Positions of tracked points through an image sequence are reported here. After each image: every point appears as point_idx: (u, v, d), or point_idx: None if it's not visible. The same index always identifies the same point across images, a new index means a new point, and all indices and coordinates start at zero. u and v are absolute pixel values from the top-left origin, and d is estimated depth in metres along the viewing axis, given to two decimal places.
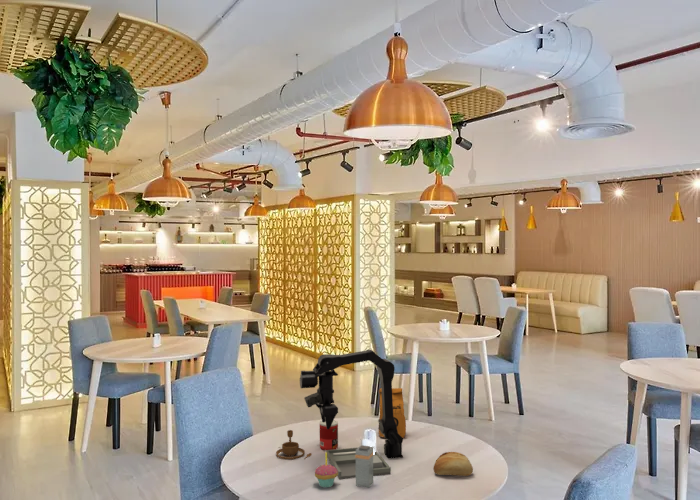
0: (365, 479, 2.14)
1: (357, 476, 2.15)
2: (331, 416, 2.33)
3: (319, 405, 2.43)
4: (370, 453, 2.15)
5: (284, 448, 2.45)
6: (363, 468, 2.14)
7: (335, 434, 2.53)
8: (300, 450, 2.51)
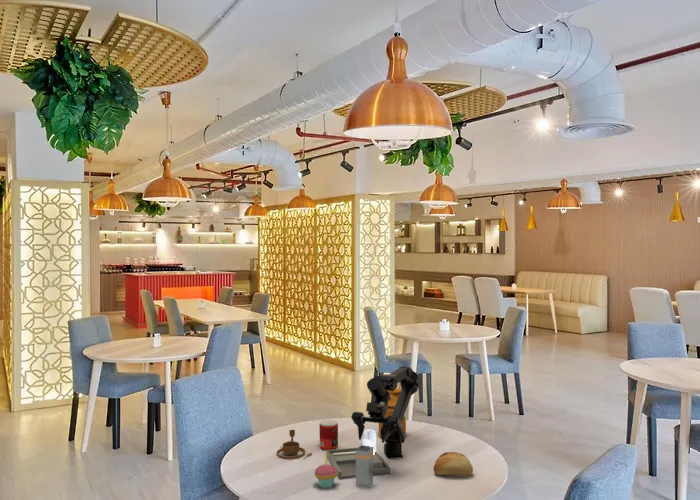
0: (365, 479, 2.14)
1: (357, 476, 2.15)
2: (389, 431, 2.26)
3: (361, 420, 2.29)
4: (370, 453, 2.15)
5: (284, 447, 2.45)
6: (363, 468, 2.14)
7: (335, 434, 2.53)
8: (301, 450, 2.51)
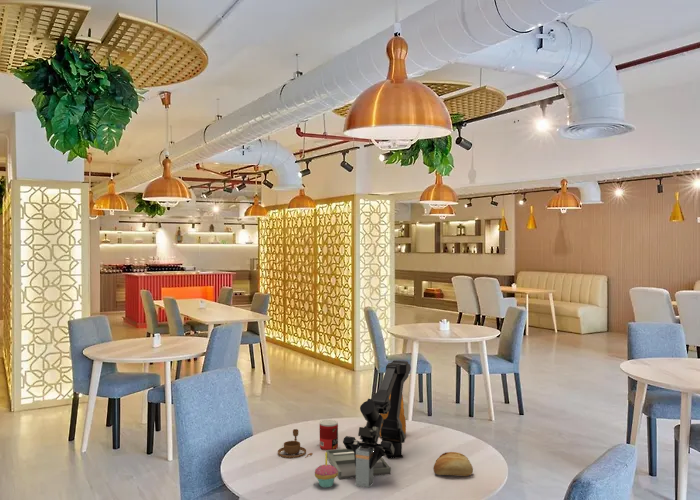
0: (365, 479, 2.14)
1: (357, 476, 2.15)
2: (378, 456, 2.18)
3: (357, 446, 2.20)
4: (370, 453, 2.15)
5: (285, 447, 2.46)
6: (363, 468, 2.14)
7: (335, 434, 2.53)
8: (302, 449, 2.52)
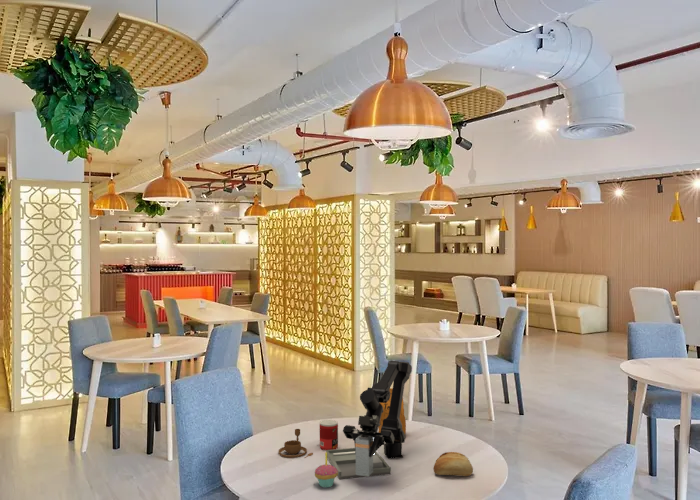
0: (364, 468, 2.14)
1: (357, 465, 2.15)
2: (377, 445, 2.18)
3: (357, 435, 2.20)
4: (370, 442, 2.15)
5: (285, 446, 2.47)
6: (363, 456, 2.14)
7: (335, 434, 2.53)
8: (303, 449, 2.52)
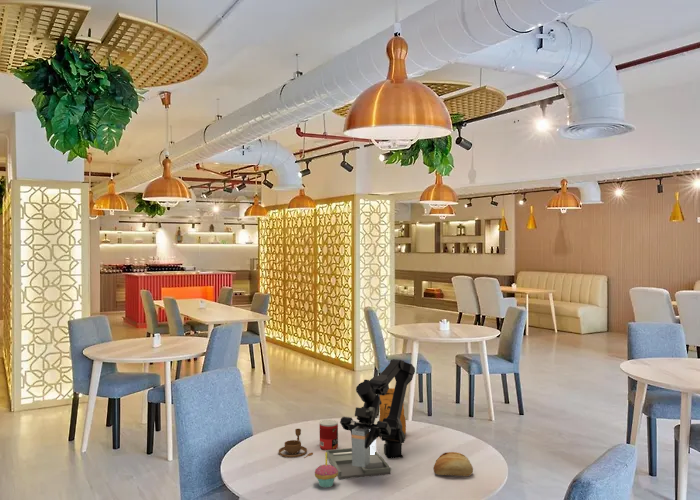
0: (361, 459, 2.16)
1: (353, 456, 2.17)
2: (374, 436, 2.20)
3: (354, 426, 2.22)
4: (366, 433, 2.17)
5: (286, 446, 2.47)
6: (359, 447, 2.16)
7: (335, 434, 2.53)
8: (304, 449, 2.53)
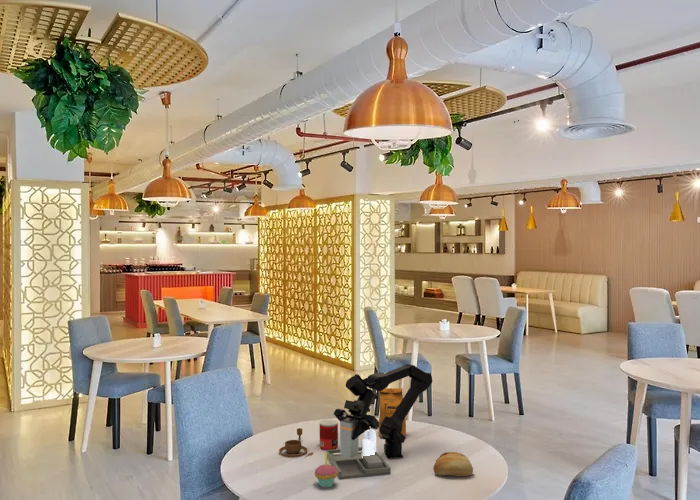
0: (347, 449, 2.26)
1: (341, 446, 2.27)
2: (362, 429, 2.28)
3: (345, 418, 2.32)
4: (353, 425, 2.26)
5: (286, 445, 2.48)
6: (346, 438, 2.26)
7: (335, 434, 2.53)
8: (304, 449, 2.53)
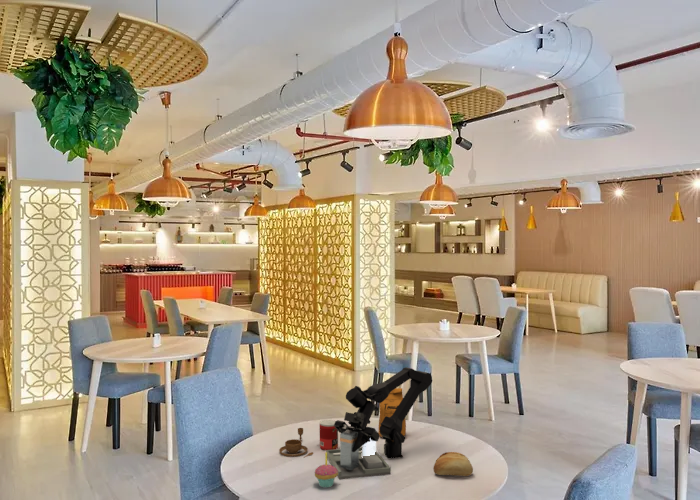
0: (348, 462, 2.26)
1: (341, 458, 2.27)
2: (362, 441, 2.28)
3: (346, 430, 2.32)
4: (353, 437, 2.26)
5: (286, 445, 2.48)
6: (346, 451, 2.26)
7: (335, 434, 2.53)
8: (304, 448, 2.53)
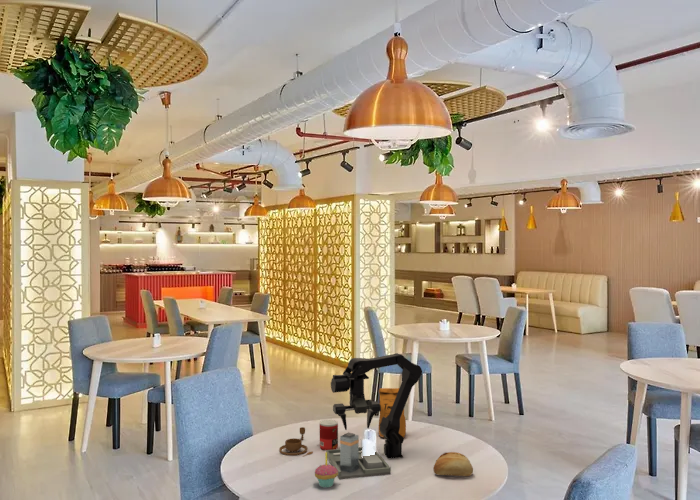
0: (347, 464, 2.26)
1: (341, 461, 2.27)
2: None
3: (345, 414, 2.37)
4: (353, 440, 2.26)
5: (286, 444, 2.50)
6: (346, 453, 2.26)
7: (335, 434, 2.53)
8: (305, 448, 2.54)
